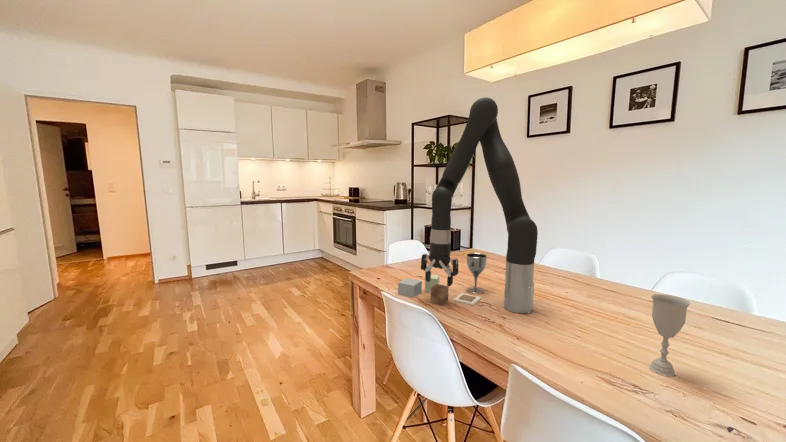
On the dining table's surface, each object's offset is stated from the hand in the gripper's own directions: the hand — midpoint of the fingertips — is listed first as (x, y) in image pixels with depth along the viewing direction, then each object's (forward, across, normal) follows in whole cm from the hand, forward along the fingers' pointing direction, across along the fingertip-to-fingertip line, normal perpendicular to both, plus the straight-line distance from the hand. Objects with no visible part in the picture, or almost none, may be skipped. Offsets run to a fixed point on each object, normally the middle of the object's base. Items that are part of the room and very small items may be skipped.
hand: (438, 283), depth 121 cm
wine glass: (+7, -8, -20) cm, 23 cm away
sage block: (+7, +7, -10) cm, 14 cm away
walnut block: (+7, -1, 0) cm, 7 cm away
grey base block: (+8, +13, -2) cm, 16 cm away
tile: (+7, -9, -8) cm, 14 cm away
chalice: (+6, -65, +10) cm, 66 cm away
